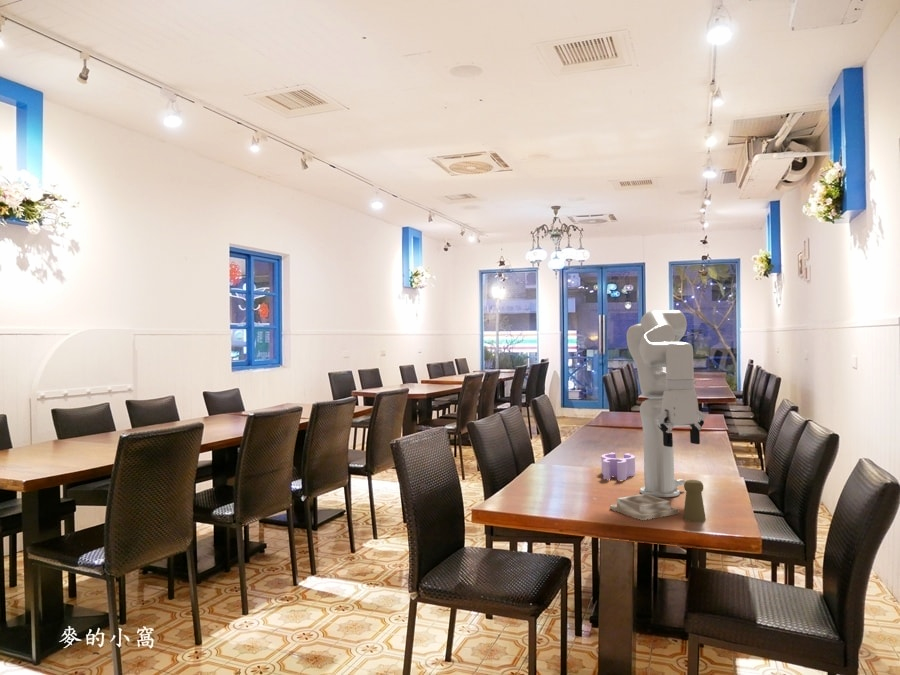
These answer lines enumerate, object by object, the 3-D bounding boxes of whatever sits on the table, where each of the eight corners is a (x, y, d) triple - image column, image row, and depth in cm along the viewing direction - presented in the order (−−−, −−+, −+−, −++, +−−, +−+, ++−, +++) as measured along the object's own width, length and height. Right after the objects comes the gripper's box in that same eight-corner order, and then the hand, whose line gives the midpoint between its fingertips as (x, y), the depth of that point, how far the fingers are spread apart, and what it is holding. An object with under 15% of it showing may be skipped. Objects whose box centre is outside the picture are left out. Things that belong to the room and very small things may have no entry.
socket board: (644, 503, 201) (644, 492, 201) (678, 513, 189) (678, 501, 189) (609, 509, 195) (609, 497, 195) (642, 520, 183) (642, 508, 183)
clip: (631, 482, 231) (630, 463, 231) (596, 480, 235) (595, 461, 235) (637, 471, 249) (636, 453, 249) (604, 469, 254) (604, 452, 254)
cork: (683, 520, 182) (682, 482, 182) (683, 515, 187) (682, 477, 187) (706, 522, 179) (705, 483, 179) (705, 516, 185) (704, 478, 185)
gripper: (694, 383, 191) (696, 440, 190) (647, 386, 184) (648, 445, 184) (713, 384, 184) (714, 444, 183) (664, 387, 177) (666, 449, 177)
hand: (681, 444), depth 184 cm, fingers open, 9 cm apart
